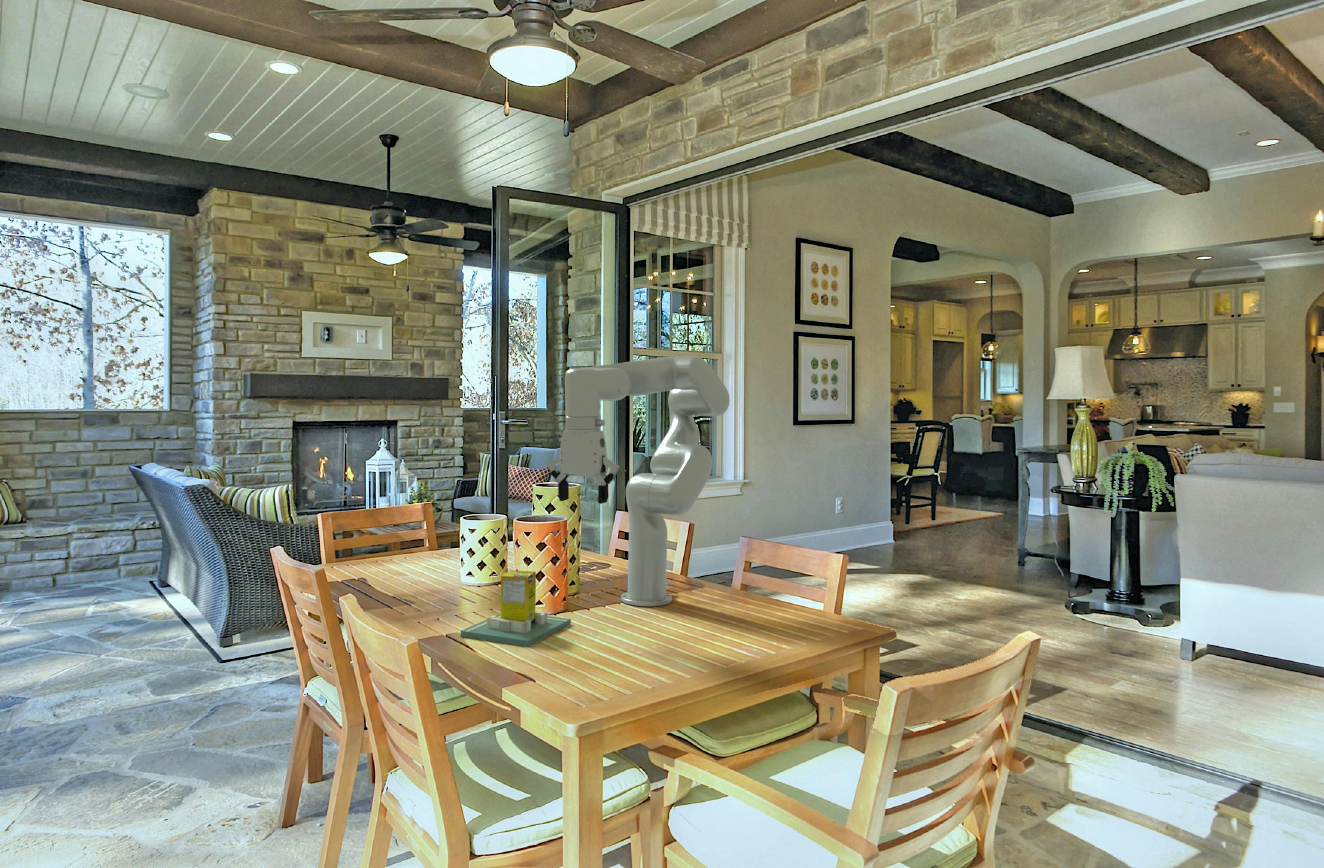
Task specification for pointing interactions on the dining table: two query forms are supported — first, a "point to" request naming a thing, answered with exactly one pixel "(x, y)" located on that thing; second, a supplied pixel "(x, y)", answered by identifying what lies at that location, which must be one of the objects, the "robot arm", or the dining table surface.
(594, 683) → the dining table surface
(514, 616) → the supplement box
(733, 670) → the dining table surface
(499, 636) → the board
